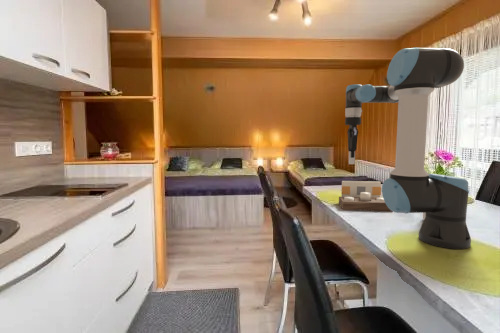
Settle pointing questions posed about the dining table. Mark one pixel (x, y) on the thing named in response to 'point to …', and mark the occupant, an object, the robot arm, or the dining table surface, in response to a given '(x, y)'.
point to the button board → (363, 204)
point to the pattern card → (361, 188)
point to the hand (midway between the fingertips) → (351, 164)
